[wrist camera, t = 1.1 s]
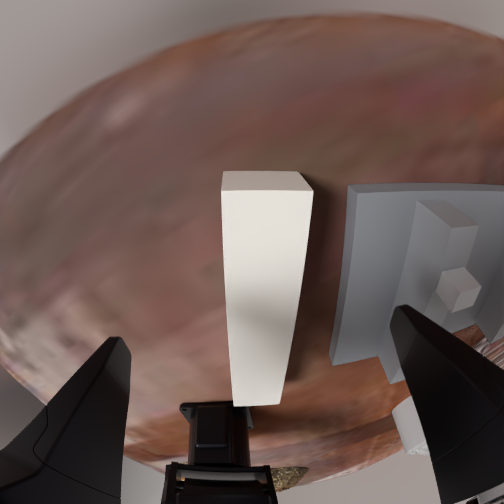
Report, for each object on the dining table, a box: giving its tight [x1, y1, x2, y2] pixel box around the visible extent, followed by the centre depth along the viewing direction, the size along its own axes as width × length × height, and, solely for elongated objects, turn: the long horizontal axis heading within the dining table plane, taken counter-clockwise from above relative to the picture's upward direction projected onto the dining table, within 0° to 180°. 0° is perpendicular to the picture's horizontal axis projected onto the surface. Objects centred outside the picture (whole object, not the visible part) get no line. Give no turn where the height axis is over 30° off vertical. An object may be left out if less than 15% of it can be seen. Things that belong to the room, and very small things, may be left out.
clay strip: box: [221, 171, 313, 406], centre depth 15 cm, size 16×3×3 cm, turn 179°
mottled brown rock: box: [270, 467, 307, 492], centre depth 41 cm, size 13×12×5 cm
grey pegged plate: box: [329, 183, 504, 384], centre depth 14 cm, size 20×13×6 cm, turn 95°
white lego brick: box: [392, 396, 430, 455], centre depth 25 cm, size 10×13×9 cm
